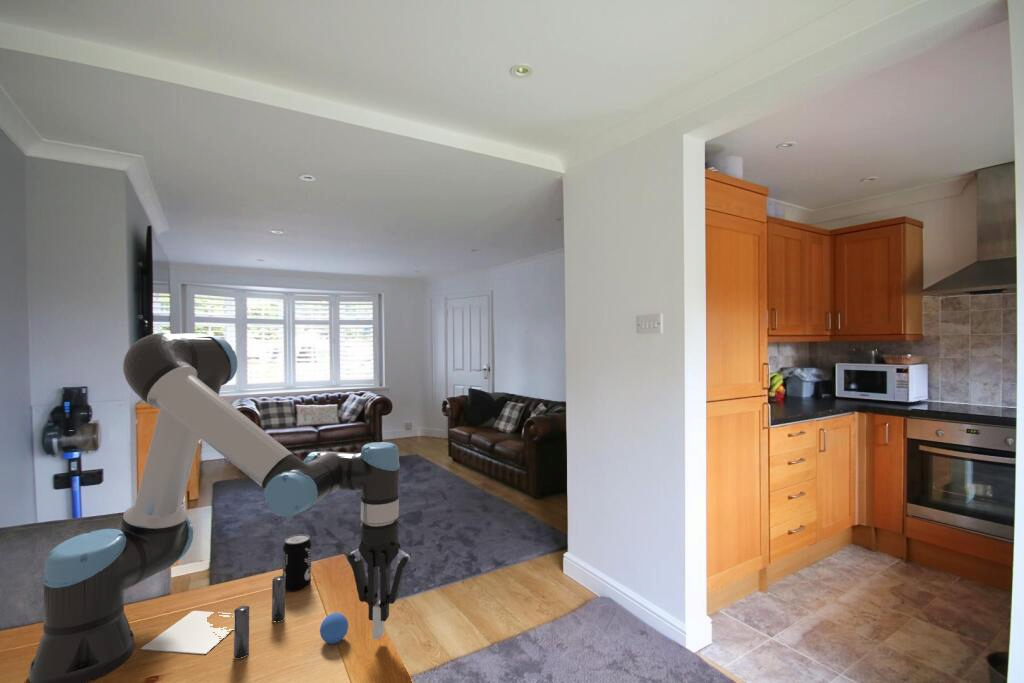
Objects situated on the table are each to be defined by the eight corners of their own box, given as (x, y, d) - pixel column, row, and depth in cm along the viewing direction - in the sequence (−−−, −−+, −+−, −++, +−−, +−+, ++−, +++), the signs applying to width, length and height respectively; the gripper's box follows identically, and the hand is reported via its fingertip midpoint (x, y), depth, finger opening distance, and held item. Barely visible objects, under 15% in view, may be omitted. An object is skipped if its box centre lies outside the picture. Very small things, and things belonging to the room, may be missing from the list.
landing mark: (140, 649, 98) (140, 648, 98) (193, 611, 112) (193, 610, 112) (205, 654, 96) (205, 653, 96) (250, 615, 110) (250, 614, 110)
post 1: (230, 658, 95) (231, 612, 95) (239, 650, 98) (240, 605, 98) (243, 659, 95) (243, 613, 95) (251, 651, 97) (252, 606, 97)
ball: (314, 648, 98) (315, 621, 98) (327, 632, 104) (327, 606, 104) (340, 650, 98) (341, 623, 98) (352, 634, 103) (352, 608, 103)
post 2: (269, 622, 108) (269, 581, 108) (276, 615, 110) (276, 575, 110) (280, 622, 107) (281, 581, 107) (287, 616, 110) (287, 576, 110)
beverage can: (300, 593, 120) (300, 544, 120) (276, 590, 121) (277, 542, 121) (316, 581, 126) (316, 534, 126) (293, 578, 128) (294, 532, 128)
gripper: (416, 514, 103) (415, 626, 103) (356, 512, 104) (355, 622, 104) (404, 528, 96) (403, 648, 96) (341, 525, 97) (339, 644, 97)
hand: (378, 635), depth 100 cm, fingers closed
